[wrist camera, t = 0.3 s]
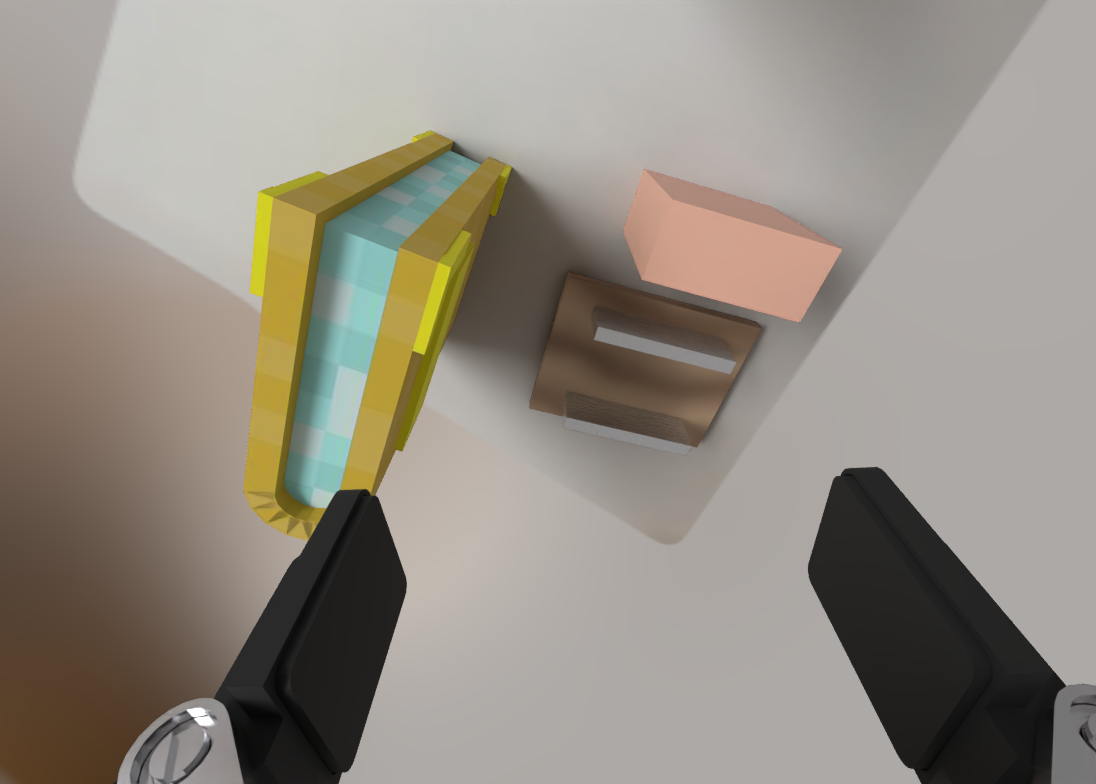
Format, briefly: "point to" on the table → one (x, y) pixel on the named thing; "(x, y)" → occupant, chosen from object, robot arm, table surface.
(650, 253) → the small book
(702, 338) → the bookends
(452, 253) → the book
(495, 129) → the table surface
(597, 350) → the shelf board
